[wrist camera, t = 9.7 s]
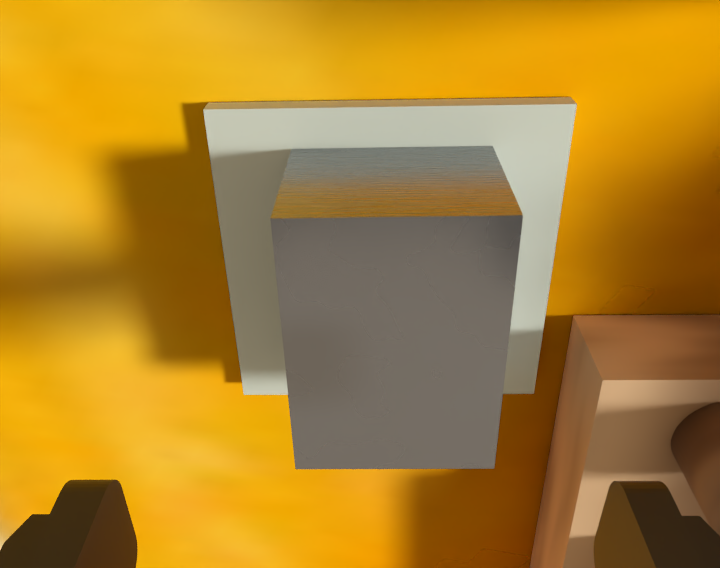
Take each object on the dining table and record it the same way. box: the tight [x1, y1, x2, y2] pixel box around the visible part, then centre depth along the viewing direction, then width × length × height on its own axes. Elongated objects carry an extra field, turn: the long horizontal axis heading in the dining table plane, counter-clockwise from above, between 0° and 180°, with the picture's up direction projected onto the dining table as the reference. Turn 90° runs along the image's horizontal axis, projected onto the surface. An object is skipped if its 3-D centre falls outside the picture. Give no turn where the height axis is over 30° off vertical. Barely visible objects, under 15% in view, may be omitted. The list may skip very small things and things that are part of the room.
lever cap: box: [270, 146, 523, 469], centre depth 17 cm, size 5×7×4 cm
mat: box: [203, 97, 577, 395], centre depth 19 cm, size 9×9×1 cm
